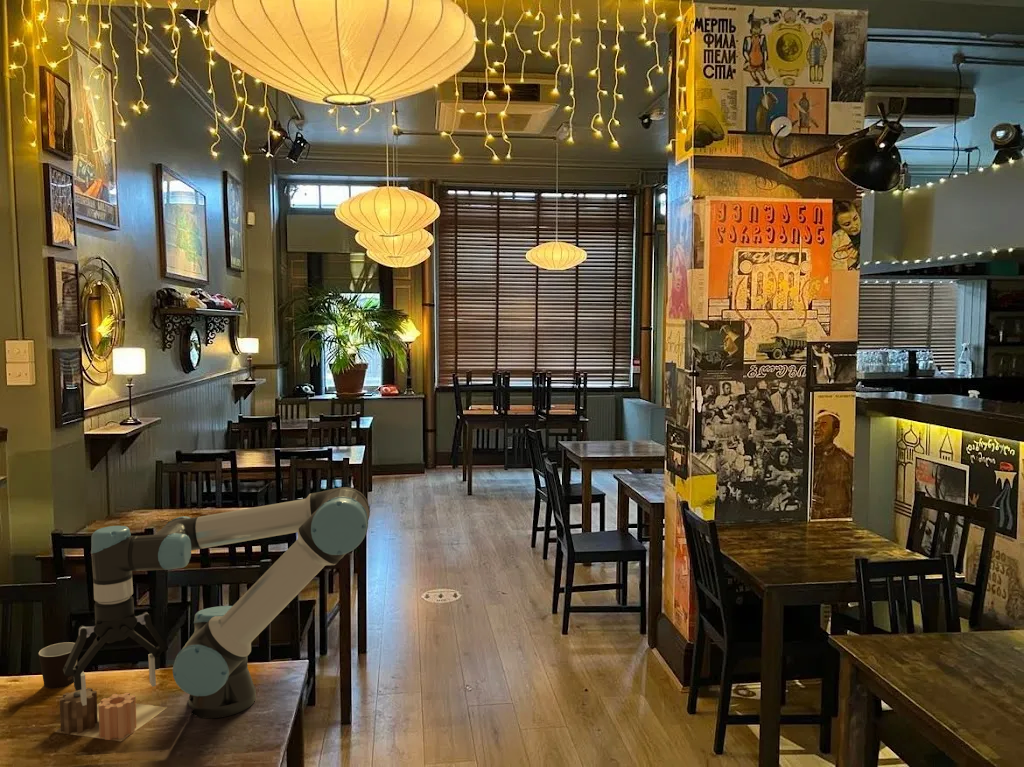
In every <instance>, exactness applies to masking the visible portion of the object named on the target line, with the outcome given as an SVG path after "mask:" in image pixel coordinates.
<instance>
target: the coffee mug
mask: <svg viewBox="0 0 1024 767" xmlns="http://www.w3.org/2000/svg"><path fill="white" fill-rule="evenodd" d="M74 644H75V642H73V641H72V642H69V641H68V642H67V641H66V642H58V643H54V644H50V645H48V646H45V647H43V648H41V649H40V650H39V652H38V658H39V664H40V668H41V670H40V671H41V675H42V680H43V685H44V686H43V687H44V688H45V689H49V690H53V689H55V690H56V689H62V688H65V687H68V686H71V685H72V684H74V676H72V675H69V676H65V674H64V671H63V668H64V666H65V664H66V662H67V660H68V657H69V655H70V653H71V651H72V649H73V647H74ZM77 663H78V660H77V661H76V664H75V666H76V665H77ZM75 666H74V667H75Z"/></svg>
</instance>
